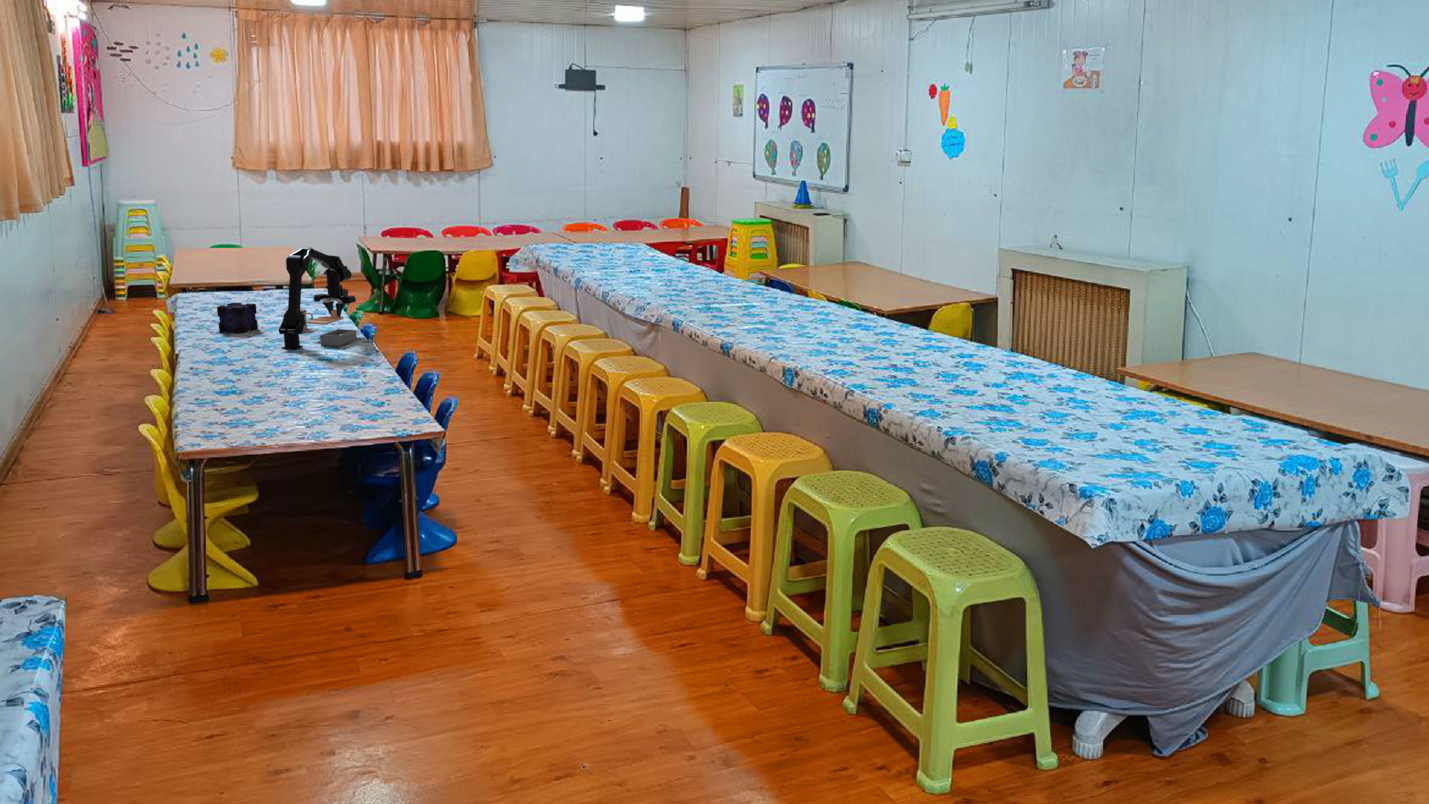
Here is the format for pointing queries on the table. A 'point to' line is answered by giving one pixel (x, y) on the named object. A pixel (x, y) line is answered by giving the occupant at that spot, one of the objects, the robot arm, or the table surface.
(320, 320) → the lid
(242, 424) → the table surface
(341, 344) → the tub
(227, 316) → the energy cube
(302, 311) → the teacup with lid
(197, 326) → the table surface
